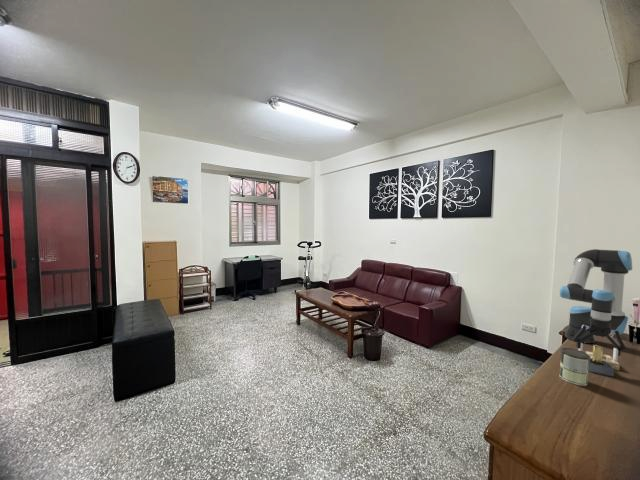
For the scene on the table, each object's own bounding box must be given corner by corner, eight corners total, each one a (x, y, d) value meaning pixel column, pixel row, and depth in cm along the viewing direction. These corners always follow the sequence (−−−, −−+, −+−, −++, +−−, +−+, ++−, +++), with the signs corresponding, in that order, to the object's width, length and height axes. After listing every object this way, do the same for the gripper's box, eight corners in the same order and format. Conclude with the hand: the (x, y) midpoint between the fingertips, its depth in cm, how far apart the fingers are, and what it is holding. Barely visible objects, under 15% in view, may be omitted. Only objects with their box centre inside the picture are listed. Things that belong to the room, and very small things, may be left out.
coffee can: (553, 373, 136) (555, 346, 136) (575, 375, 135) (577, 348, 135) (570, 384, 126) (572, 356, 125) (593, 387, 125) (596, 358, 124)
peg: (590, 367, 144) (592, 344, 144) (599, 369, 142) (601, 345, 142) (592, 370, 141) (594, 346, 140) (602, 372, 139) (604, 348, 139)
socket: (580, 363, 148) (580, 356, 148) (604, 368, 144) (605, 361, 143) (587, 371, 140) (587, 363, 140) (613, 376, 135) (614, 369, 135)
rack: (585, 356, 157) (585, 350, 157) (608, 361, 152) (609, 355, 152) (593, 365, 146) (594, 359, 146) (619, 370, 142) (619, 364, 141)
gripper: (571, 316, 143) (568, 354, 144) (638, 325, 131) (634, 367, 132) (567, 312, 150) (564, 348, 151) (630, 321, 138) (626, 361, 139)
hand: (597, 357), depth 141 cm, fingers open, 13 cm apart
